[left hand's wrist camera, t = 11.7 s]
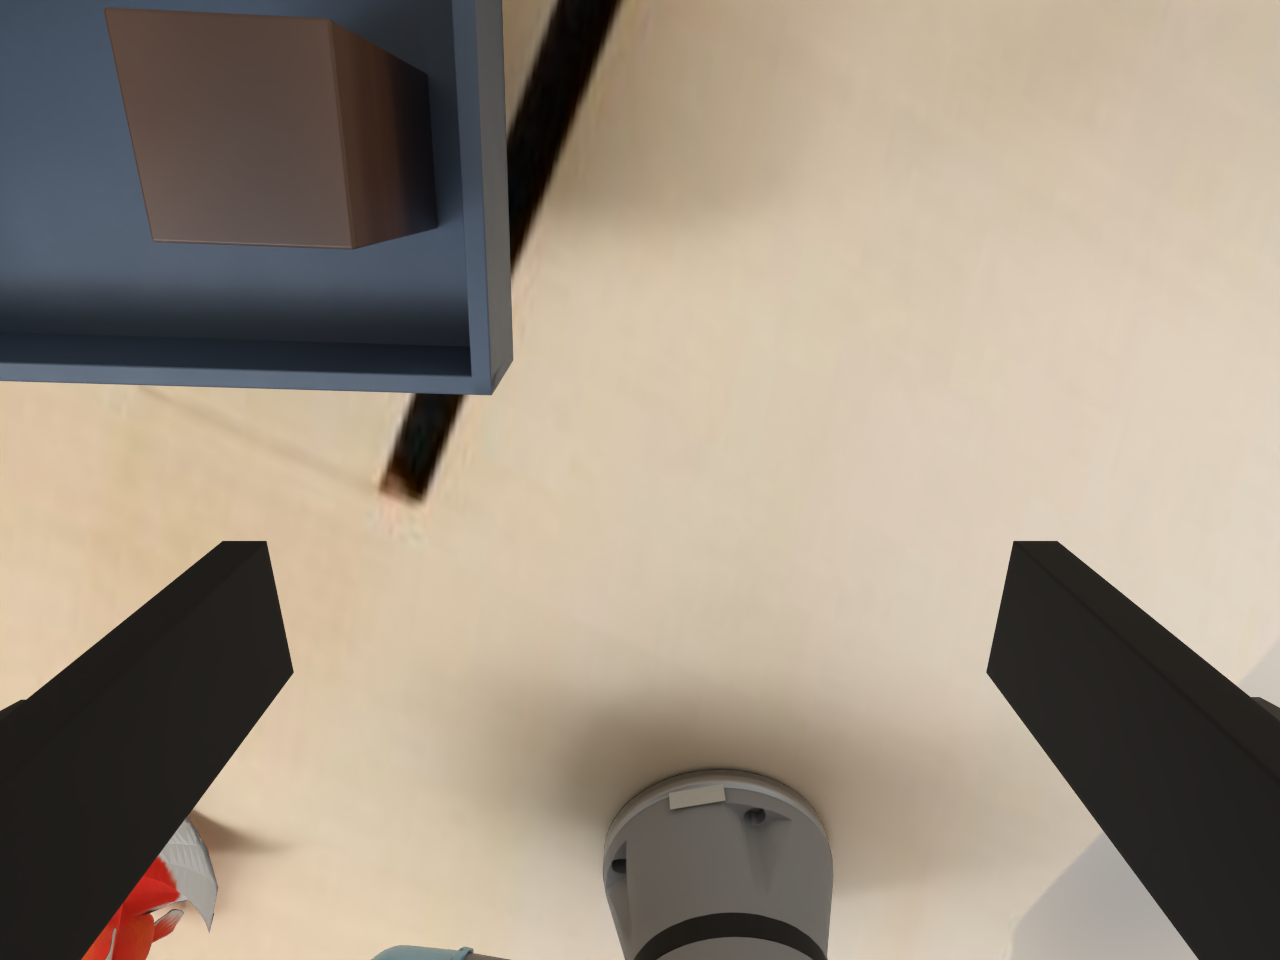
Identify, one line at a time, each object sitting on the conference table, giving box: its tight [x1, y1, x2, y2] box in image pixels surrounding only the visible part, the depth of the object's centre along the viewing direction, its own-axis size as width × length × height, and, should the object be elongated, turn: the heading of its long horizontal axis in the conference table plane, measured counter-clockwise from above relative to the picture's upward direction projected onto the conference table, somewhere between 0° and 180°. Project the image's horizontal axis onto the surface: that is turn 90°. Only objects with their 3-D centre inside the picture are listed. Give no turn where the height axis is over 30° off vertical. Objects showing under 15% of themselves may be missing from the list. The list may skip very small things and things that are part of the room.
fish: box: [81, 816, 218, 960], centre depth 46 cm, size 11×16×10 cm
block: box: [104, 7, 438, 250], centre depth 19 cm, size 4×4×8 cm
